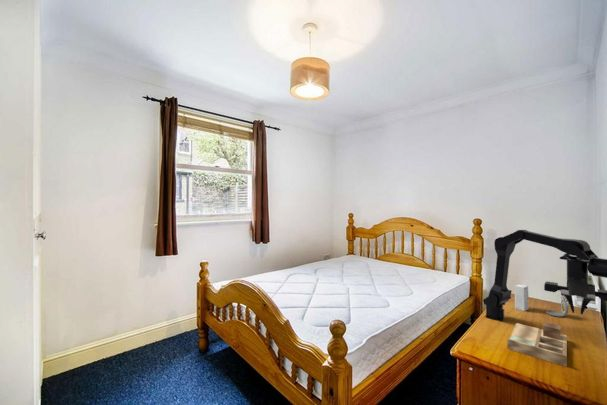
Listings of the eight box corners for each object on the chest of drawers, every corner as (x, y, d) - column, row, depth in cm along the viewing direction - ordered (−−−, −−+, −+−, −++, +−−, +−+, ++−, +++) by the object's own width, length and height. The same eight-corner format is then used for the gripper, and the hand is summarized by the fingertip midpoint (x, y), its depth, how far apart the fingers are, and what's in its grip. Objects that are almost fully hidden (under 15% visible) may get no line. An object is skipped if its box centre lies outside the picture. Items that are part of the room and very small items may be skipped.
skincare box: (524, 311, 137) (524, 287, 138) (514, 308, 141) (514, 285, 141) (529, 308, 141) (529, 285, 141) (518, 306, 145) (518, 283, 145)
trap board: (507, 348, 101) (507, 339, 101) (516, 327, 119) (516, 319, 119) (566, 366, 90) (566, 356, 90) (566, 340, 108) (566, 331, 108)
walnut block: (543, 335, 108) (543, 325, 108) (543, 331, 111) (543, 321, 111) (560, 340, 104) (560, 329, 104) (560, 335, 108) (560, 325, 108)
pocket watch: (542, 312, 136) (542, 292, 136) (557, 311, 137) (557, 292, 137) (559, 319, 128) (558, 298, 128) (574, 318, 129) (574, 297, 129)
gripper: (543, 272, 104) (543, 312, 103) (617, 282, 90) (617, 328, 90) (545, 267, 112) (545, 304, 111) (613, 275, 98) (613, 318, 98)
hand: (577, 313), depth 103 cm, fingers closed
